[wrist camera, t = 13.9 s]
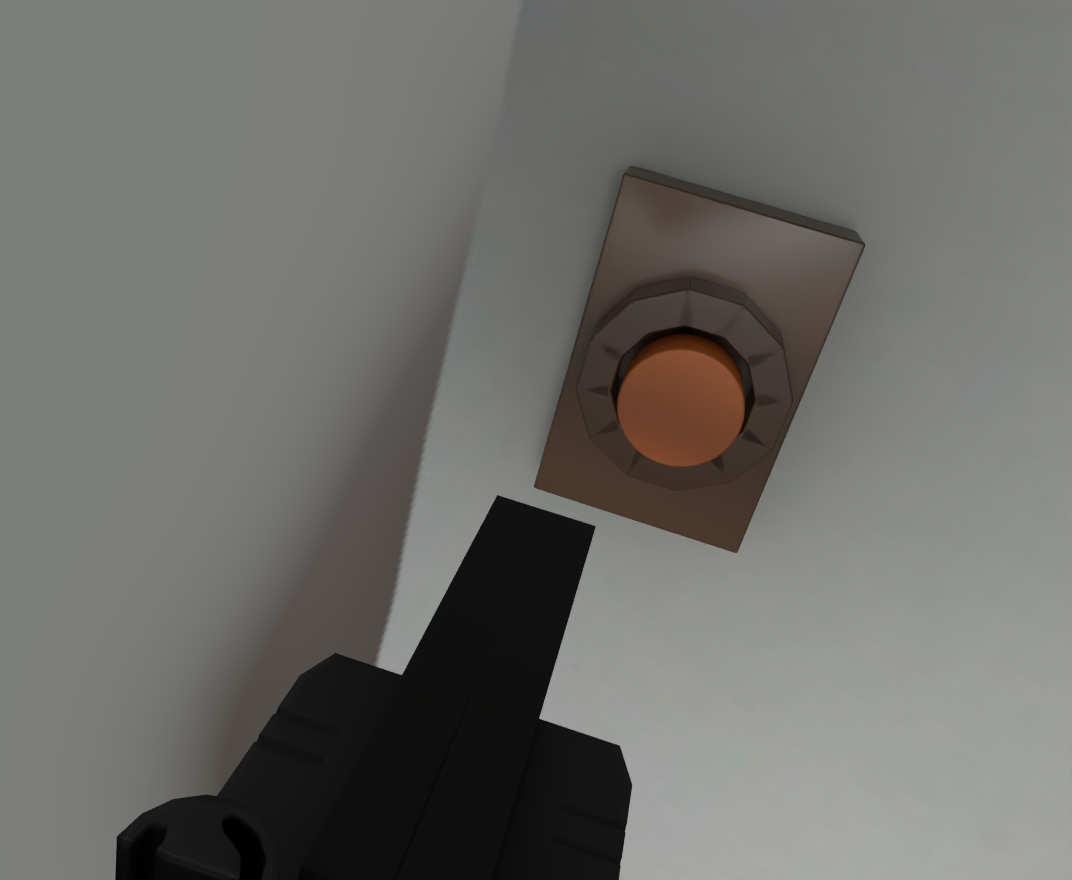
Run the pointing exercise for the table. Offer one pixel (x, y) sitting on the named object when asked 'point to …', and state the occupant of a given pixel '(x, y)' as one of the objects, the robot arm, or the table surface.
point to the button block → (704, 310)
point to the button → (681, 400)
